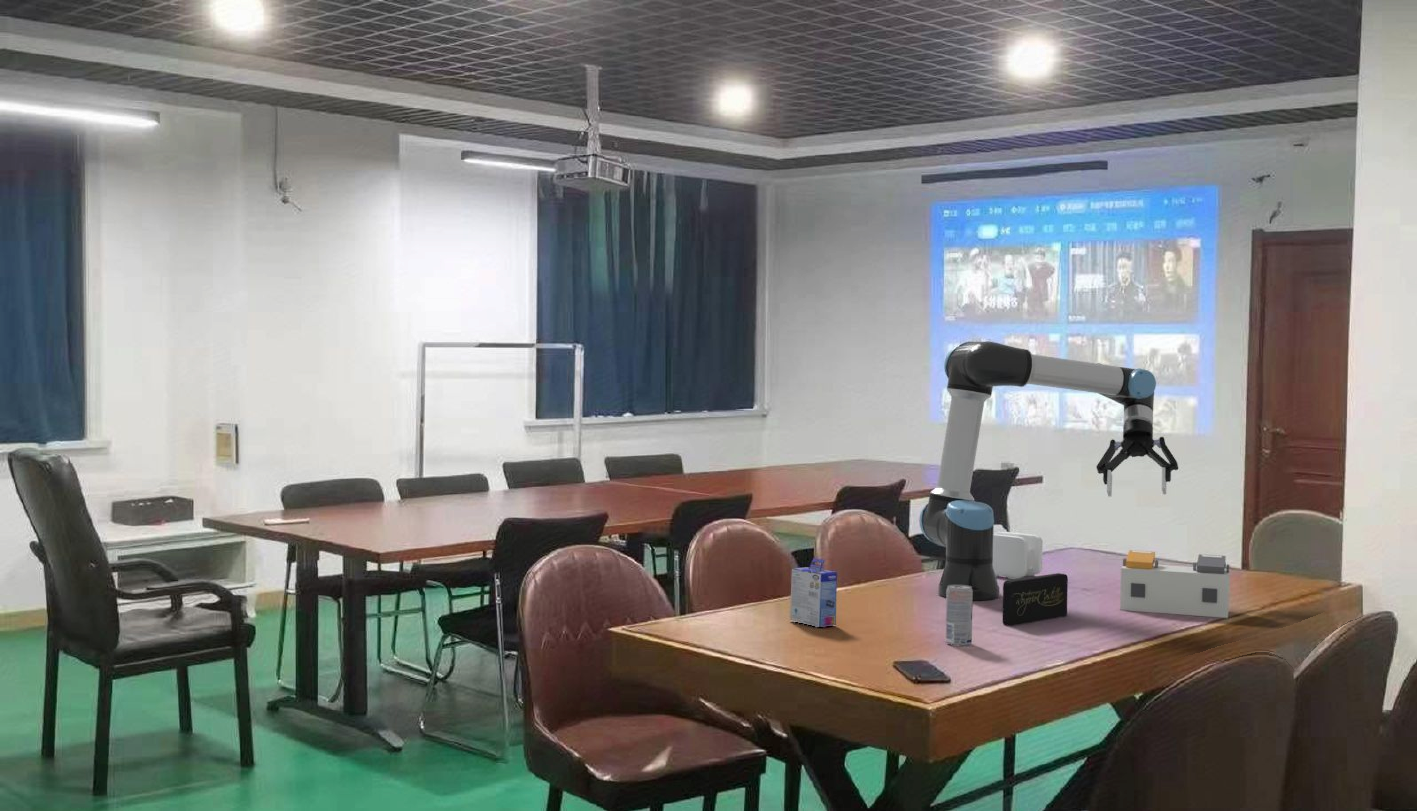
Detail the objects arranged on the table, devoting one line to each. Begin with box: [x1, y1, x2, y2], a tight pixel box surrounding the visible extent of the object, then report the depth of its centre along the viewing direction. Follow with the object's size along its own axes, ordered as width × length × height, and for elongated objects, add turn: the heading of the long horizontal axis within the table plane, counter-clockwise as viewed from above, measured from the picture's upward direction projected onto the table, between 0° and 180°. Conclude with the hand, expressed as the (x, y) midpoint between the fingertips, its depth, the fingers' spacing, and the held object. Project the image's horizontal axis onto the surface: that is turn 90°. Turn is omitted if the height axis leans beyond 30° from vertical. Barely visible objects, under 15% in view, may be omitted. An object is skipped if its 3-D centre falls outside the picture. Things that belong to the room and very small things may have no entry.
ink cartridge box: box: [789, 557, 838, 628], centre depth 302 cm, size 10×6×14 cm, turn 40°
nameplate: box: [1002, 572, 1069, 627], centre depth 310 cm, size 21×2×10 cm, turn 129°
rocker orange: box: [1126, 549, 1156, 569], centre depth 327 cm, size 8×6×2 cm
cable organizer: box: [993, 531, 1044, 580], centre depth 376 cm, size 15×11×12 cm
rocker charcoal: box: [1196, 553, 1227, 574], centre depth 321 cm, size 8×6×2 cm
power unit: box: [1119, 557, 1231, 619], centre depth 324 cm, size 10×24×12 cm, turn 67°
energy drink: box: [945, 585, 973, 647], centre depth 282 cm, size 5×5×12 cm
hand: (1136, 492), depth 349 cm, fingers open, 13 cm apart
